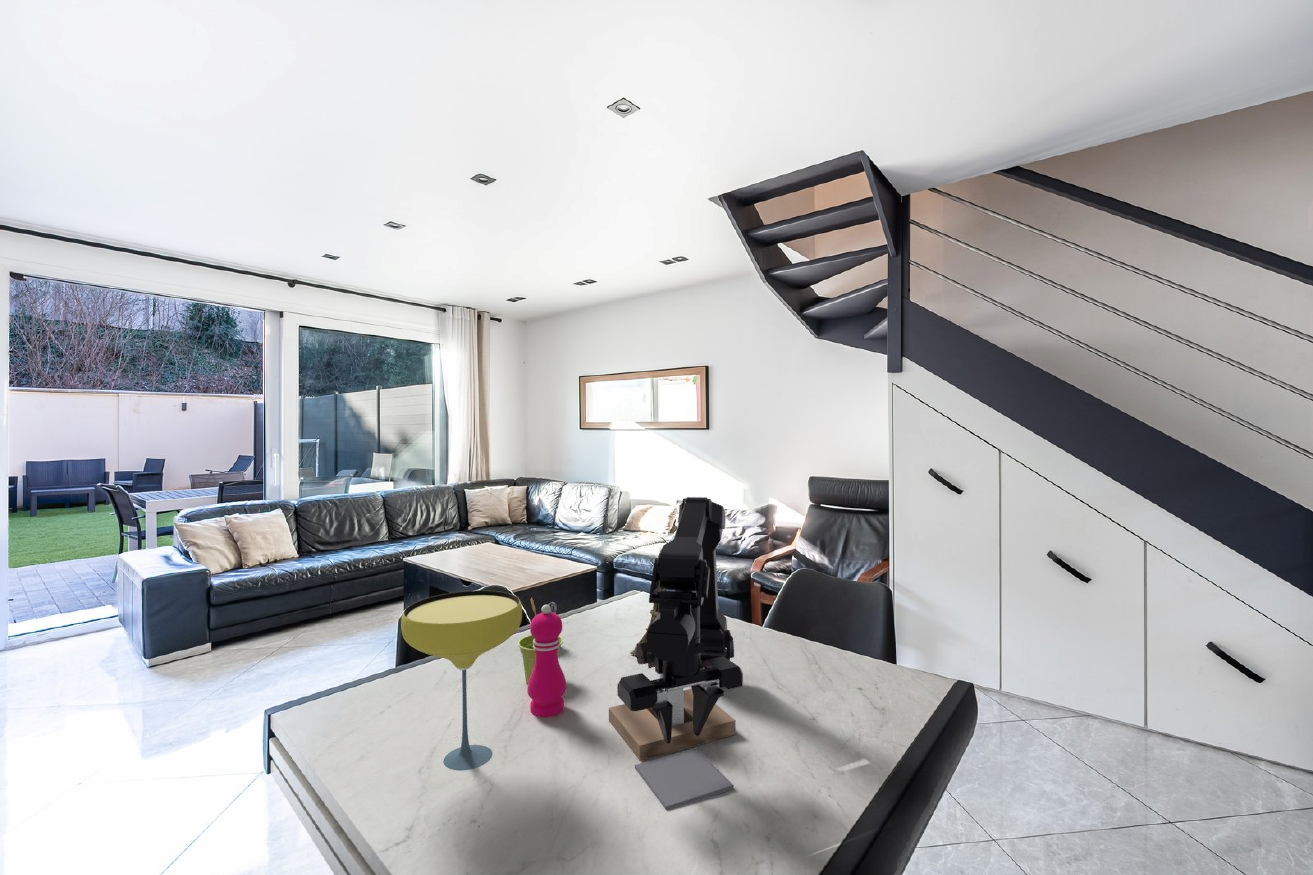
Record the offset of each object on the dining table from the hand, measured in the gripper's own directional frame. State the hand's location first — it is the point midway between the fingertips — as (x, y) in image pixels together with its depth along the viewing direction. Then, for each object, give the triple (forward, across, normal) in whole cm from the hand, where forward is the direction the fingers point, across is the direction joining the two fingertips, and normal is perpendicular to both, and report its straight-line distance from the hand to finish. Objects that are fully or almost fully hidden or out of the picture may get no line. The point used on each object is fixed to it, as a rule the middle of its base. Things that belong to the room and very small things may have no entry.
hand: (682, 738), depth 85 cm
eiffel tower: (+6, -19, -47) cm, 51 cm away
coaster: (+6, 0, 0) cm, 6 cm away
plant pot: (+6, +11, -43) cm, 45 cm away
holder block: (+6, -5, -14) cm, 16 cm away
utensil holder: (+6, +6, -62) cm, 63 cm away
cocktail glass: (+6, +29, -19) cm, 35 cm away
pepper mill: (+6, +13, -30) cm, 33 cm away
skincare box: (+6, -5, -14) cm, 16 cm away
